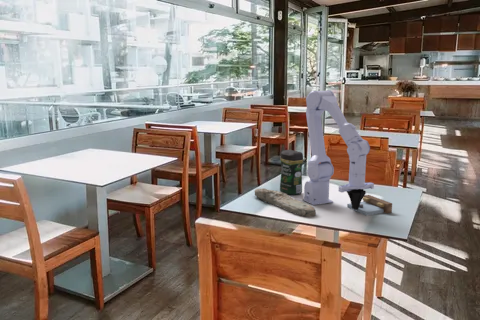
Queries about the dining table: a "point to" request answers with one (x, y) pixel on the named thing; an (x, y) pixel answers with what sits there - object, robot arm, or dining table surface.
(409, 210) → the dining table surface
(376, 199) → the brown long block
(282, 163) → the coffee jar
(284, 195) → the long grey stone
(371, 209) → the door panel
